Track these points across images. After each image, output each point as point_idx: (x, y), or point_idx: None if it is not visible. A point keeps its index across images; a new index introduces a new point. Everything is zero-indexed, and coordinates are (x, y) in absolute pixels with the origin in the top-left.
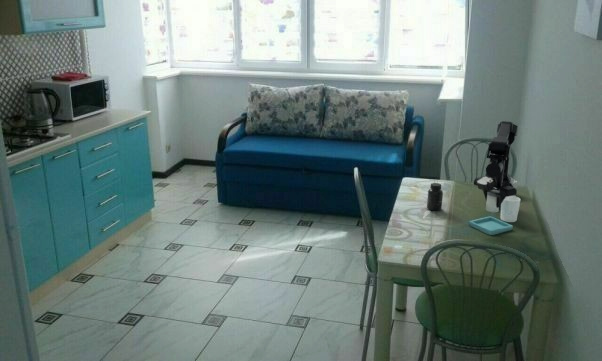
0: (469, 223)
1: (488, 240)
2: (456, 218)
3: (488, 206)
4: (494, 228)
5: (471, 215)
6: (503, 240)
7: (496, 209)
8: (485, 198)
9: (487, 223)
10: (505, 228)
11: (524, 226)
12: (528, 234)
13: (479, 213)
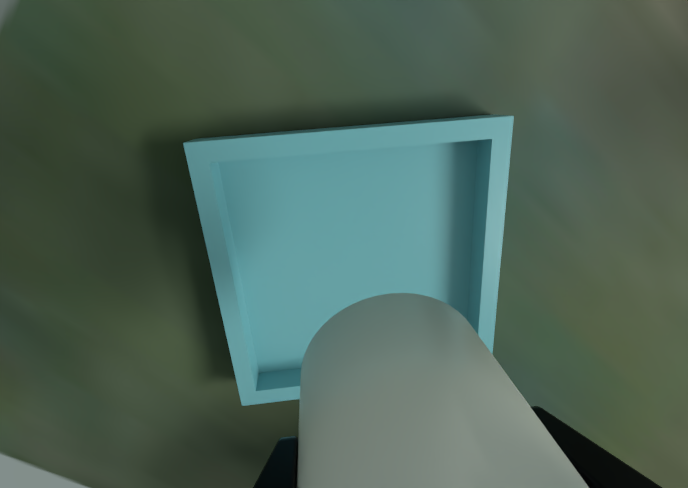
0: (494, 116)
1: (80, 17)
2: (670, 120)
3: (401, 345)
4: (303, 265)
5: (623, 286)
6: (51, 170)
7: (300, 407)
8: (637, 477)
9: (418, 283)
10: (228, 327)
11: None
12: (130, 421)
13: (607, 361)
